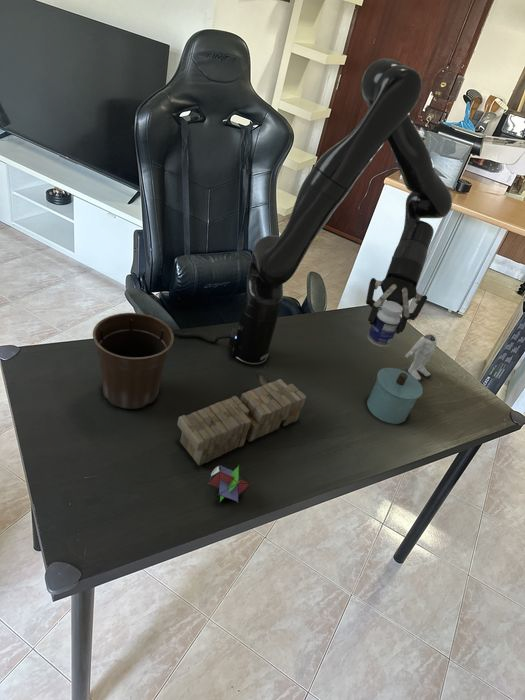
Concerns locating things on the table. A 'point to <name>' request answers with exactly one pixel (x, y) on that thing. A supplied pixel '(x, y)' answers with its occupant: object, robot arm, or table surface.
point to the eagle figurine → (262, 378)
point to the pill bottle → (385, 324)
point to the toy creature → (422, 355)
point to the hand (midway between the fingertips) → (384, 328)
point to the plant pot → (132, 357)
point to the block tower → (239, 420)
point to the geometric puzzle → (228, 483)
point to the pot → (394, 395)
